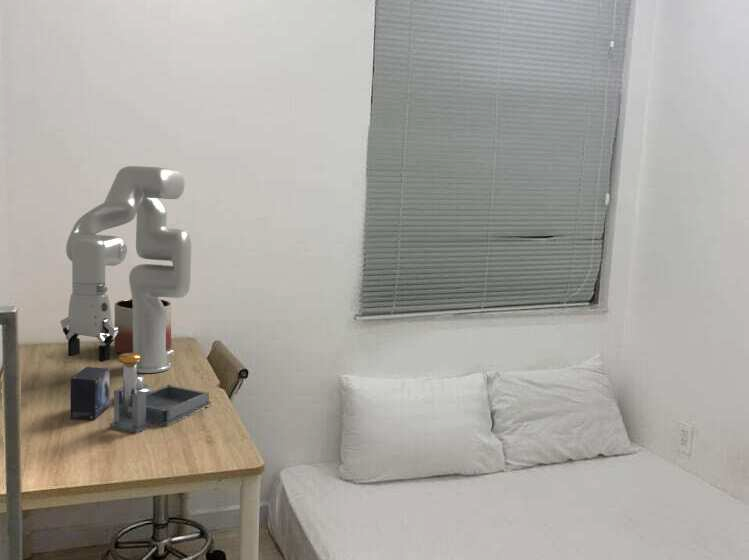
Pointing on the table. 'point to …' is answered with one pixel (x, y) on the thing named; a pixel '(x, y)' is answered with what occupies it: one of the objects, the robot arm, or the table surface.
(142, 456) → the table surface
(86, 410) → the small box
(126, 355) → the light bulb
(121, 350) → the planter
